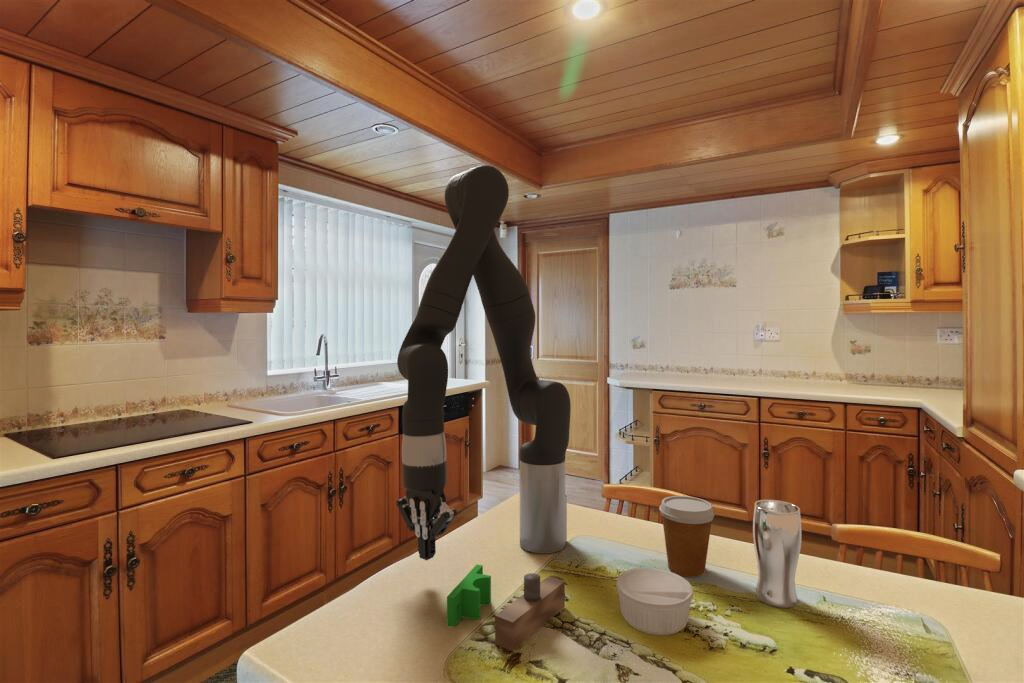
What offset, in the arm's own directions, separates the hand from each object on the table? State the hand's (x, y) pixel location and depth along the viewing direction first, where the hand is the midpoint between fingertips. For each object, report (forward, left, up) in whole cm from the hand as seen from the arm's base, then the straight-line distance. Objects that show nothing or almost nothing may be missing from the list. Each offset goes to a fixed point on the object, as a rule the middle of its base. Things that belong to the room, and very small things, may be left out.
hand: (426, 557), depth 90 cm
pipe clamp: (+2, +12, -4) cm, 13 cm away
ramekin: (-11, +36, -4) cm, 38 cm away
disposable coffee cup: (-30, +35, -4) cm, 47 cm away
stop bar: (+1, +22, -4) cm, 23 cm away
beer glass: (-28, +50, -4) cm, 58 cm away
